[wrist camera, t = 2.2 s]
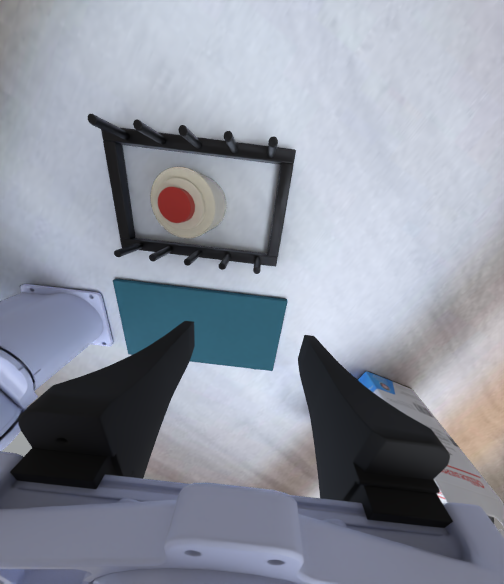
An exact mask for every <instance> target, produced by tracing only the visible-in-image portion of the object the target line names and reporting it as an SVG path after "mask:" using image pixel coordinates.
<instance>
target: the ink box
mask: <svg viewBox="0 0 504 584" xmlns="http://www.w3.org/2000/svg"><path fill="white" fill-rule="evenodd" d="M358 381H359V382H361V383H362V384H363V385H364V386H365V387H367V388H368V389H369V390H371V391H372V392H373V393H375V394H376V395H377V396H379V397H380V398H382V399H383V400H385V401H386V402H387V403H389V404H390V405H392V406H394V407H395V408H397V409H398V410H400V411H401V412H403V413H404V414H406V415H408V416H410V417H411V418H413V419H415V420H417V421H418V422H420V423H422V424H423V425H425V426H427V427H429V428H430V429H432V431H433V432H434V433H435V435H436V436H437V437H438V439H439V440H440V441H441V443H442V444H443V445H444V447H445V448H446V449H447V451H448V452H449V455H450V460H449V464H448V465H447V466H446V468H445V469H444V470H443V471H442V472H441V473H439V474H438V475H437V476H436V477H435V478H434V481H435V483H436V484H437V486H438V488H439V490H440V492H439V493H436V494H437V495H438V497H439V499H440V500H441V502H442V504H445V503H463V504H472V505H478V506H480V507H482V509H483V510H484V511H485V513H486V514H487V515H488V516H491V517H494V518H496V519H498V520H499V521H500V522H501V524H502V525H503V526H504V504H503V502H502V500H501V499H500V498H499V496H498V495H497V494H496V493H495V492H494V490H493V489H492V488H491V487H490V485H489V484H488V483H487V482H486V480H485V479H484V478H483V477H482V475H481V474H480V473H479V472H478V470H477V469H476V468H475V467H474V465H473V464H472V463H471V462H470V460H469V459H468V458H467V457H466V455H465V454H464V453H463V452H462V450H461V449H460V448H459V447H458V445H457V444H456V443H455V442H454V440H453V439H452V438H451V437H450V435H449V434H448V433H447V432H446V430H445V429H444V428H443V427H442V425H441V424H440V423H439V422H438V420H437V419H436V418H435V417H434V416H433V414H432V413H431V412H430V411H429V409H428V408H427V407H426V406H425V404H424V403H423V402H422V401H421V399H420V398H419V397H418V395H417V394H416V393H415V392H414V390H412V389H410V388H408V387H405V386H403V385H400V384H398V383H395V382H393V381H390V380H388V379H385V378H383V377H380V376H378V375H375V374H373V373H370V372H367V371H366V372H365V373H364V374H363V375H362V376H361V377H360V378H359V379H358ZM499 532H500V533H501V535H502V536H503V538H504V530H503V529H499Z"/></svg>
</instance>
